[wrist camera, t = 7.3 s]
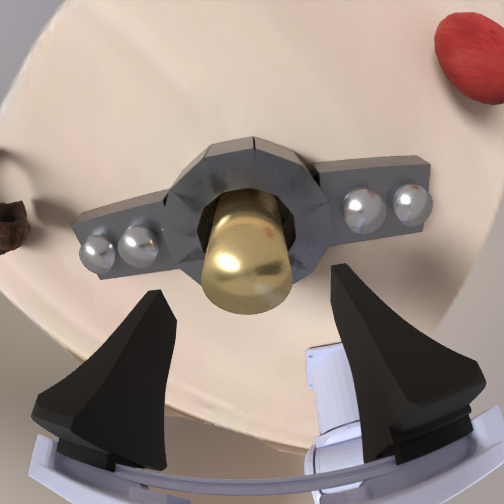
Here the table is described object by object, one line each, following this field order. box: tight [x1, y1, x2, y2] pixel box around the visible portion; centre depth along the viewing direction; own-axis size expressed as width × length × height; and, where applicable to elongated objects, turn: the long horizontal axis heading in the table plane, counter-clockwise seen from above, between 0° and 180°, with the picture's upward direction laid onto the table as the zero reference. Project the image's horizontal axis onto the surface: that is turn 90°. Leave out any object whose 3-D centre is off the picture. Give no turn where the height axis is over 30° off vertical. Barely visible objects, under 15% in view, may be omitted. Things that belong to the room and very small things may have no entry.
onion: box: [434, 12, 504, 105], centre depth 7 cm, size 6×6×8 cm
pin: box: [201, 187, 292, 315], centre depth 15 cm, size 4×4×7 cm
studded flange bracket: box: [71, 137, 433, 286], centre depth 16 cm, size 9×24×3 cm, turn 100°
